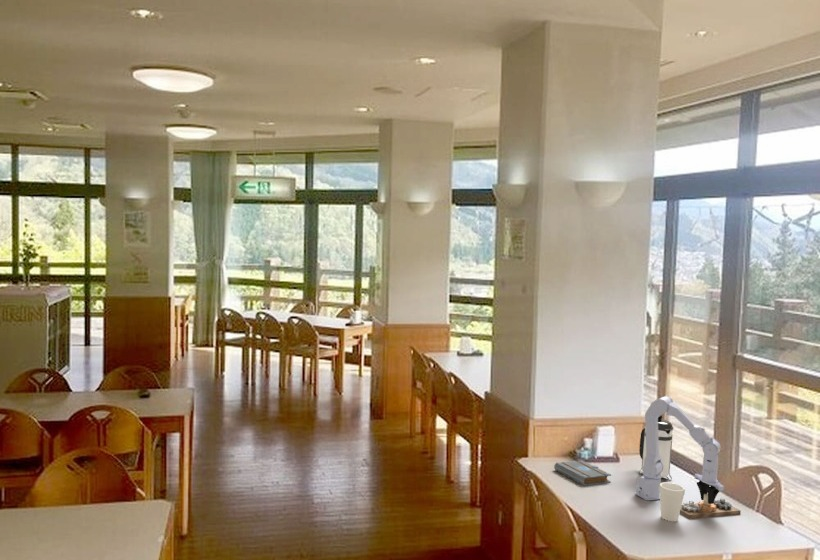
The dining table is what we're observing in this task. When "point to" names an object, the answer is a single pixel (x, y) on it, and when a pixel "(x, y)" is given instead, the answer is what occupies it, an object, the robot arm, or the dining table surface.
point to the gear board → (709, 512)
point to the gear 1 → (691, 507)
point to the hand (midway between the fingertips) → (707, 501)
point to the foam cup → (671, 500)
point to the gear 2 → (722, 504)
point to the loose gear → (706, 504)
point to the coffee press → (660, 445)
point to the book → (582, 472)
